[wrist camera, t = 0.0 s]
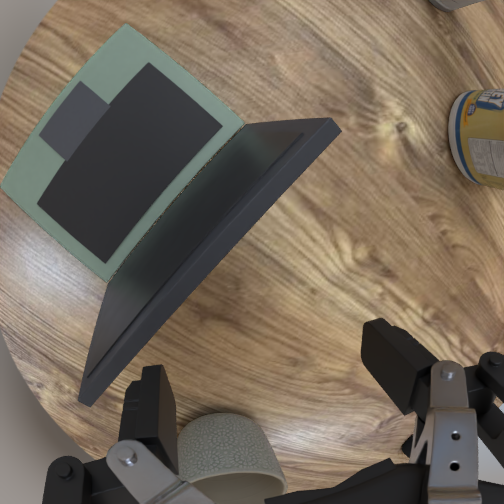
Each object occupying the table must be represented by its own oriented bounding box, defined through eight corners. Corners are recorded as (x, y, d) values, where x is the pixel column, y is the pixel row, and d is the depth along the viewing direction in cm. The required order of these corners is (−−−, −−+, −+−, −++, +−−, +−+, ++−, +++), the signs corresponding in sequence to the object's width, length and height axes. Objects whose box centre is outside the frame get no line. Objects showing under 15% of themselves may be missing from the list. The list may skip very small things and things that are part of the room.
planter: (154, 412, 33) (152, 485, 23) (252, 386, 34) (275, 458, 24) (192, 463, 37) (199, 524, 27) (274, 441, 39) (295, 502, 29)
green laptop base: (8, 184, 23) (-2, 186, 21) (129, 29, 21) (125, 22, 19) (111, 275, 27) (106, 283, 26) (241, 125, 26) (245, 122, 24)
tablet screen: (75, 400, 13) (90, 407, 13) (329, 115, 11) (342, 131, 12) (106, 283, 26) (114, 288, 26) (245, 123, 24) (253, 130, 24)
